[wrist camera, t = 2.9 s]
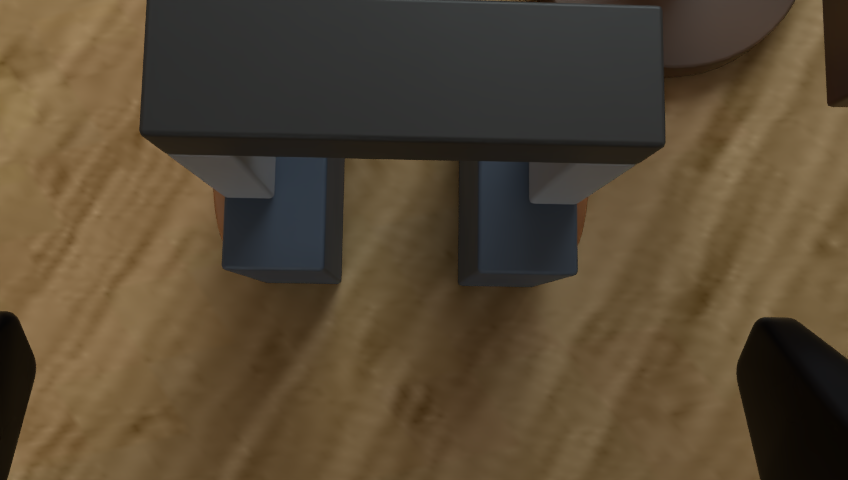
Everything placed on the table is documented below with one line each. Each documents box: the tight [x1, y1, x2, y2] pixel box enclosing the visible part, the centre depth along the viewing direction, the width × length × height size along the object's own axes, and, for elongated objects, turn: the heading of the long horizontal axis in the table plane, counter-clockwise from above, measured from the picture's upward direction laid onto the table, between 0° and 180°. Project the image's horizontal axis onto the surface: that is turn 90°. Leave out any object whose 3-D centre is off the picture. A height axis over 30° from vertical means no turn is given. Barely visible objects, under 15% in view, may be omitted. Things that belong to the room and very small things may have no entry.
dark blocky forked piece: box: [139, 0, 665, 287], centre depth 15 cm, size 5×8×10 cm, turn 89°
